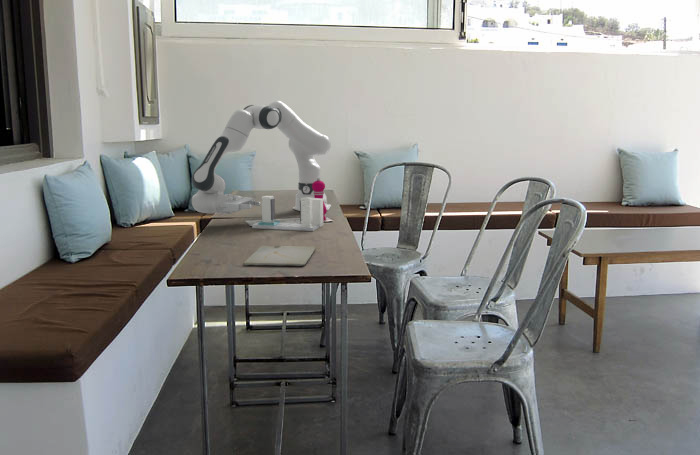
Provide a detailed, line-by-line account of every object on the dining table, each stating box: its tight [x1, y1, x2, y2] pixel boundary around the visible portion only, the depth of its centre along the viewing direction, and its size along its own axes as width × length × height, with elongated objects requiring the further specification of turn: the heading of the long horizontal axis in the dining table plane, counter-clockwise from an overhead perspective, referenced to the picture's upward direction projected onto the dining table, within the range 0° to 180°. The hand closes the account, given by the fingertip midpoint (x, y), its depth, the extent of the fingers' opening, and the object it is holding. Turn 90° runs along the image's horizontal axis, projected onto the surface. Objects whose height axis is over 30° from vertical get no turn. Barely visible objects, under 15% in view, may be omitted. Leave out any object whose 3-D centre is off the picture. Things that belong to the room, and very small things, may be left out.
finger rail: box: [251, 197, 320, 232], centre depth 270 cm, size 8×28×14 cm, turn 74°
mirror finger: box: [313, 198, 324, 228], centre depth 274 cm, size 4×5×12 cm
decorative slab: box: [243, 245, 317, 267], centre depth 217 cm, size 27×21×2 cm
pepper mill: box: [312, 177, 328, 222], centre depth 288 cm, size 7×7×20 cm
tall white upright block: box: [261, 195, 276, 223], centre depth 272 cm, size 4×5×12 cm
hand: (255, 205), depth 273 cm, fingers open, 8 cm apart
